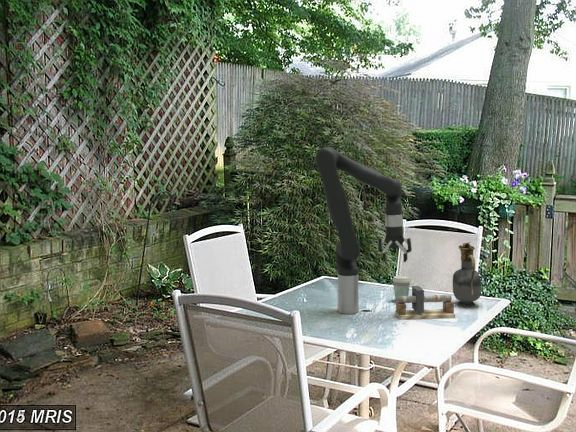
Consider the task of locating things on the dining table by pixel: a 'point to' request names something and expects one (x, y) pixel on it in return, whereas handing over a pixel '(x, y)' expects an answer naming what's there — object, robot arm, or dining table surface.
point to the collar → (418, 299)
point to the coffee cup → (401, 286)
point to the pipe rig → (428, 313)
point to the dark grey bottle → (467, 278)
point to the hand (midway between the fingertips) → (395, 261)
